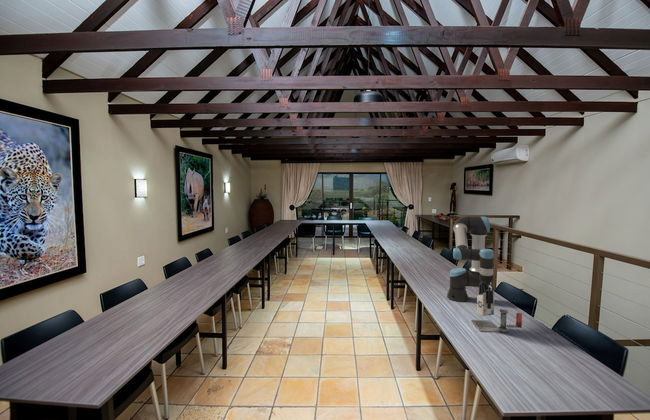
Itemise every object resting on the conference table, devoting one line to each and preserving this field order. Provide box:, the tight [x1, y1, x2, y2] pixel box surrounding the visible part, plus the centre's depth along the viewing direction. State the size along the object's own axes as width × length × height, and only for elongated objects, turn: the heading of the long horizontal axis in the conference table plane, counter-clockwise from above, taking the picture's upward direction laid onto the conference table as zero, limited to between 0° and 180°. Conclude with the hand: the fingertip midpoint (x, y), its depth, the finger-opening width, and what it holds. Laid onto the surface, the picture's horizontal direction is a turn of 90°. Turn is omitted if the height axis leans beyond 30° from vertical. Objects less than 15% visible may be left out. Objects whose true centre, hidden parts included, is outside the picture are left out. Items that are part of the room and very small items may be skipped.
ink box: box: [476, 291, 495, 317], centre depth 182 cm, size 8×5×15 cm, turn 104°
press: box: [470, 308, 509, 334], centre depth 181 cm, size 14×16×13 cm
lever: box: [506, 312, 523, 329], centre depth 176 cm, size 3×8×8 cm, turn 87°
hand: (485, 311), depth 182 cm, fingers closed on ink box, 6 cm apart
